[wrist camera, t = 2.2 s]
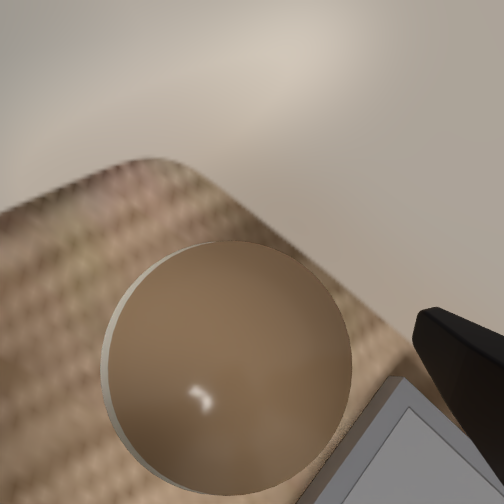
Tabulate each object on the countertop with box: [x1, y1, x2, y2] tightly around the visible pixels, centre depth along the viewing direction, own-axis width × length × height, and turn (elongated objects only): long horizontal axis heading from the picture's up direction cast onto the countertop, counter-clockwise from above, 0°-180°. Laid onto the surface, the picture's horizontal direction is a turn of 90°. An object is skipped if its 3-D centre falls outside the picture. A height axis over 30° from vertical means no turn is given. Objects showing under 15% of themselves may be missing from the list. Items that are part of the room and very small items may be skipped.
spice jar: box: [100, 241, 352, 496], centre depth 12 cm, size 4×4×10 cm
